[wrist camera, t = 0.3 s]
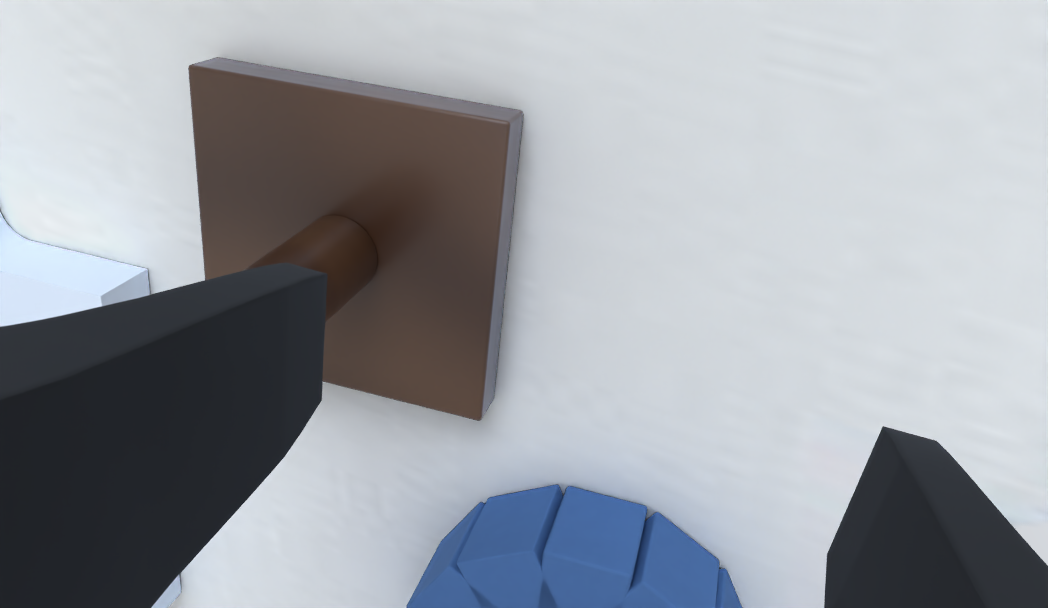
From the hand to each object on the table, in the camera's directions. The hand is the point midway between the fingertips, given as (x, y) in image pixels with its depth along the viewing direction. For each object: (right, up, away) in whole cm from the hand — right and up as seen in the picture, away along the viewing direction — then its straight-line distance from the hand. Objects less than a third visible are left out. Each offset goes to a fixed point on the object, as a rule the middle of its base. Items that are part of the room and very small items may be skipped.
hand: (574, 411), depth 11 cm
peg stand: (-5, +3, +11) cm, 13 cm away
